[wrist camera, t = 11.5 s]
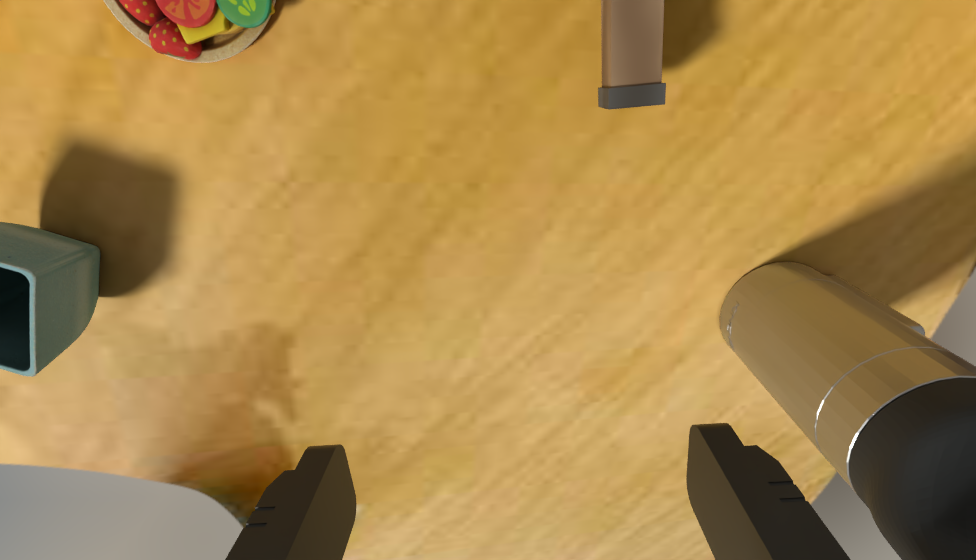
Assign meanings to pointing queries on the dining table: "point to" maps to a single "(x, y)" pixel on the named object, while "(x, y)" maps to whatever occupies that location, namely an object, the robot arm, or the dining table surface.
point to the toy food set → (194, 25)
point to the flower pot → (43, 295)
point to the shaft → (631, 53)
